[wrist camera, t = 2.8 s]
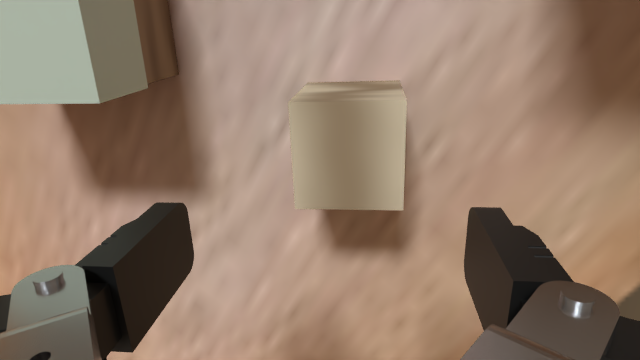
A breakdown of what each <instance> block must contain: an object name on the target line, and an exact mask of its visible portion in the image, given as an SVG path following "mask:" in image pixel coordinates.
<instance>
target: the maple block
mask: <svg viewBox="0 0 640 360" xmlns="http://www.w3.org/2000/svg"><path fill="white" fill-rule="evenodd" d="M288 110H289V125H290V140H291V156H292V171H293V186H294V201H295V209H337V210H403V206H404V174H405V142H406V111H407V99H406V97H405V94H404V92H403V89H402V86H401V84H400V81H360V82H317V83H307V84H306V85H305V86H304V87H303V88H302V89H301V90H300V91H299V92H298V93H297V94H296V95H295V96H294V97H293V98H292V99H291V100H290V101H289V102H288Z"/></svg>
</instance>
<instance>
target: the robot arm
mask: <svg viewBox="0 0 640 360" xmlns="http://www.w3.org/2000/svg"><path fill="white" fill-rule="evenodd" d="M193 260H194V250H193V243H192V237H191V231H190V224H189V218H188V212H187V208H186V206H185V205H184V204H183V203H155V204H154V205H153V206H152V207H150V208H149V209H148V210H147V211H146V212H145V213H143V214H142V215H141V216H140V217H139V218H137V219H136V220H134V221H132V222H130V223H127V224H125V225H123V226H121V227H120V228H119V229H118V230H117V231H115V232H114V233H113V234H112V235H111V237H108V238H107V239H106V240H105V241H103V242H102V243H101V245H99V246H97V247H96V248H95V249H94V250H93V251H91V252H90V253H89V254H88V255H87V256H85V257H84V258H83V259H82V260H81V261H79V262H78V263H77V264H76V265H61V266H55V267H50V268H47V269H43V270H40V271H38V272H35V273H33V274H31V275H29V276H27V277H25V278H24V279H22V280H21V281H20V282H18V283H17V284H16V285H15V286H14V288H13V290H12V293H11V294H10V295H3V296H0V360H107V355H108V354H109V353H110V352H111V351H116V352H133V351H134V350H135V348H136V347H137V346H138V344H139V343H140V341H141V340H142V339H143V337H144V336H145V334H146V333H147V332H148V330H149V329H150V327H151V326H152V325H153V323H154V322H155V320H156V319H157V318H158V316H159V315H160V313H161V312H162V311H163V309H164V308H165V306H166V305H167V304H168V302H169V301H170V299H171V298H172V297H173V295H174V294H175V293H176V291H177V290H178V288H179V287H180V286H181V284H182V283H183V281H184V280H185V279H186V277H187V276H188V274H189V273H190V271H191V269H192V266H193ZM464 272H465V279H466V283H467V286H468V288H469V291H470V294H471V297H472V299H473V302H474V305H475V308H476V310H477V313H478V316H479V319H480V321H481V324H482V327H483V330H484V332H483V333H482V334H481V336H480V337H479V338H478V339H477V340H476V341H475V343H474V344H473V345H472V346H471V347H470V349H469V350H468V351H467V352H466V353H465V354H464V356H463V357H462V358H461V359H460V360H640V321H636V320H632V319H628V318H625V317H622V316H620V310H619V307H618V306H617V304H616V303H615V302H614V301H613V300H612V299H611V298H610V297H608V296H607V295H606V294H604V293H602V292H600V291H599V290H596V289H594V288H592V287H589V286H587V285H583V284H580V283H575V282H574V281H573V280H572V279H571V278H570V276H569V275H568V274H567V272H566V271H565V270H564V269H563V267H562V266H561V265H560V263H559V262H558V261H557V260H556V258H553V254H552V253H551V252H550V250H549V249H546V245H545V244H544V243H543V241H542V240H541V239H540V238H539V236H538V235H536V234H535V233H533V232H531V231H530V230H528V229H526V228H525V227H523V226H513V224H512V223H511V222H510V220H509V219H508V217H507V216H506V214H505V213H504V211H503V210H502V209H501V208H486V207H472V208H471V209H470V211H469V216H468V225H467V236H466V247H465V257H464Z"/></svg>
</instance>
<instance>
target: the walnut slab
mask: <svg viewBox="0 0 640 360" xmlns="http://www.w3.org/2000/svg"><path fill="white" fill-rule="evenodd" d="M133 1H134V7H135V13H136V19H137V25H138V31H139V36H140V42H141V48H142V54H143V60H144V66H145V72H146V78H147V84H149V83H152V82H155V81H159V80H162V79H165V78H169V77H172V76H176V75H179V72H178V65H177V59H176V52H175V45H174V39H173V32H172V26H171V19H170V12H169V6H168V0H133Z"/></svg>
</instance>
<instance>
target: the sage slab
mask: <svg viewBox="0 0 640 360" xmlns="http://www.w3.org/2000/svg"><path fill="white" fill-rule="evenodd" d="M147 88H148V84H147V78H146V72H145V66H144V60H143V54H142V48H141V42H140V36H139V31H138V25H137V19H136V13H135V7H134V1H133V0H0V104H96V103H103V102H106V101H109V100H112V99H116V98H119V97H122V96H125V95H128V94H131V93H135V92H138V91H141V90H144V89H147Z"/></svg>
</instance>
